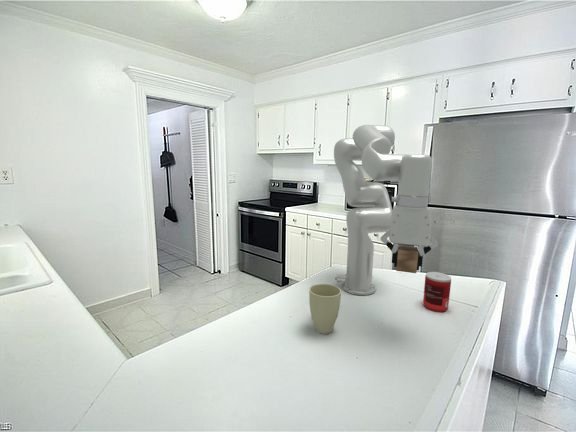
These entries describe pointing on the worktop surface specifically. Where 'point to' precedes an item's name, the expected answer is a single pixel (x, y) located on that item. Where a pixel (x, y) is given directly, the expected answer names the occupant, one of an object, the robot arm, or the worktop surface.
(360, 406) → the worktop surface
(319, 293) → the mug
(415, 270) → the walnut block
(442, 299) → the canned food
